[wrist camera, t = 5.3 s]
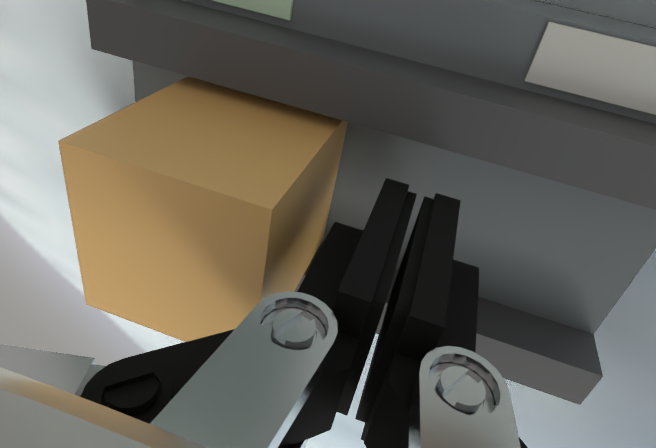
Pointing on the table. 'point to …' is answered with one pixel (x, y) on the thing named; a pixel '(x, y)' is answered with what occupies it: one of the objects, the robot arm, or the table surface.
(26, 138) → the table surface
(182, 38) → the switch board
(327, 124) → the tan orange cube block
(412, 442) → the robot arm
